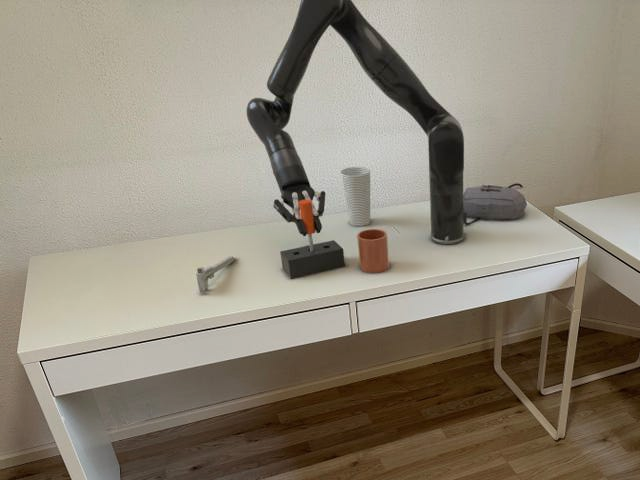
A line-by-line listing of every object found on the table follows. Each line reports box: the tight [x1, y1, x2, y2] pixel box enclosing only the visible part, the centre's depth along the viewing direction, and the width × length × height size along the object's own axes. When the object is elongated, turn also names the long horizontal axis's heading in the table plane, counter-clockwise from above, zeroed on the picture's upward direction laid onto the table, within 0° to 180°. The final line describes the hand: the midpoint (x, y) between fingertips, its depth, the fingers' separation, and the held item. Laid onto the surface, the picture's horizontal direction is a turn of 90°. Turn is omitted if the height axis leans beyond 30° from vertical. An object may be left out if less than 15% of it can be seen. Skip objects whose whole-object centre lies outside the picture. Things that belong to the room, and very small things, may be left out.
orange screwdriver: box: [299, 199, 317, 252], centre depth 169 cm, size 3×3×15 cm
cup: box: [340, 166, 371, 227], centre depth 197 cm, size 8×8×16 cm
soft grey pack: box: [463, 184, 528, 221], centre depth 207 cm, size 15×8×20 cm
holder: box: [279, 239, 346, 280], centre depth 174 cm, size 6×14×5 cm, turn 122°
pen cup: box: [356, 228, 390, 274], centre depth 173 cm, size 7×7×9 cm
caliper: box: [196, 255, 236, 294], centre depth 169 cm, size 20×1×6 cm, turn 176°
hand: (312, 232), depth 168 cm, fingers closed on orange screwdriver, 3 cm apart
